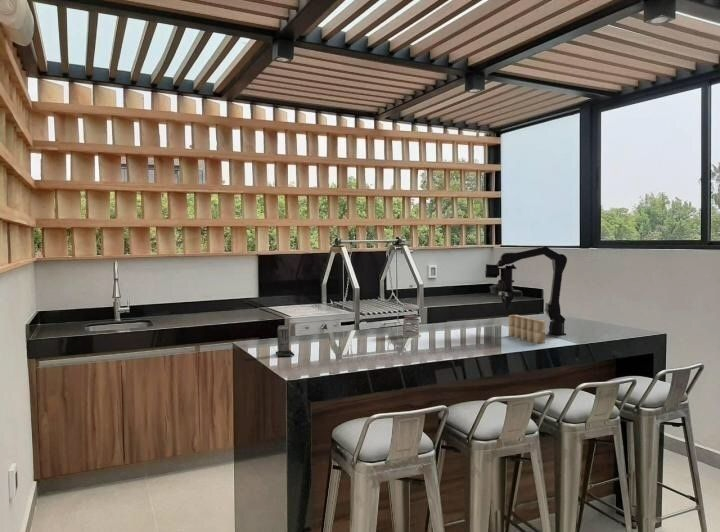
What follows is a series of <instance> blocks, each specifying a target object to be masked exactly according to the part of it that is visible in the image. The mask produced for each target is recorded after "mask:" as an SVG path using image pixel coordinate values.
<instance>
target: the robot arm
mask: <svg viewBox="0 0 720 532" xmlns="http://www.w3.org/2000/svg"><path fill="white" fill-rule="evenodd" d="M543 255H544V256H545V257H546V258H548V259H550V260H551V265H552V266H551V267H552V271H553V274H552V280H551V281H552V282H551V289H550V297H549V301H548V302H545V307H544V312H545V315H546V316H547V317H548V318H549V320H550V321H549V324H548V332H547V334H549V335H553V336H566V335H567V333H566V332H565V321H566V318H565V317H564V316H563V315H562V313H561V312H562V311H561V305H560V297H561V289H562V288H561V287H562V280H563V273H564V270H565V268H566V265H567V263H568V257H567V256H566V255H565V254H563V253H558V252H556V251H555V250H553V249H551V248H550V247H548V246H546V245H545V246H543V245H542V246H541V247H536V248H531V249H527V250H523V251H517V252H515V251H514V252H502V254H501V255H500V258H499V260H498V261H497V263H496V264H485V270H484V277H485V279H498V277H500V279H498V281H497V283H495V284H492V285H490V286H489V290H490V294H492V295H493V294H497V297H499V298H500V300H501V302H502V307H503V308H504V310H508V309H509V307H510V305H511V303H512V301H513V299H514V298H516V297H517V298H518V297H523V291H521V290H517V289H515V288H513V283H515V279H513V270H516V269H517V267H516V266H515V264H513V263H516V262H518V261H521V260H525V259H528V258H533V257H534V258H535V257H538V256H543Z"/></svg>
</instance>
